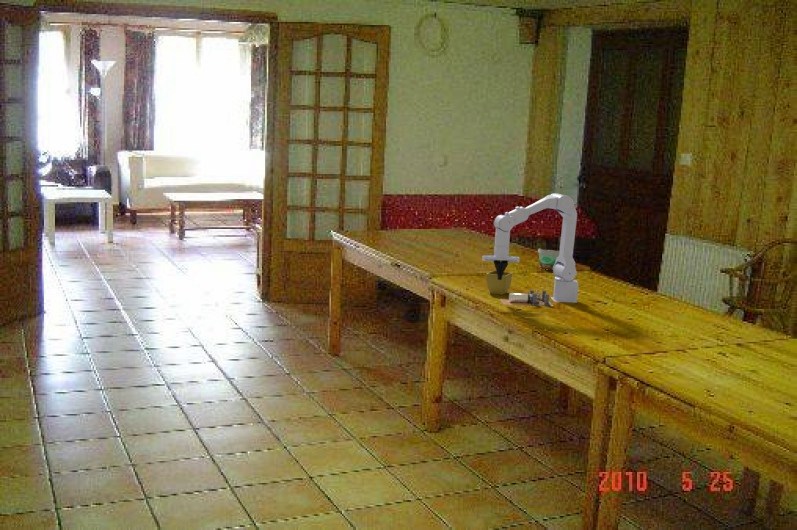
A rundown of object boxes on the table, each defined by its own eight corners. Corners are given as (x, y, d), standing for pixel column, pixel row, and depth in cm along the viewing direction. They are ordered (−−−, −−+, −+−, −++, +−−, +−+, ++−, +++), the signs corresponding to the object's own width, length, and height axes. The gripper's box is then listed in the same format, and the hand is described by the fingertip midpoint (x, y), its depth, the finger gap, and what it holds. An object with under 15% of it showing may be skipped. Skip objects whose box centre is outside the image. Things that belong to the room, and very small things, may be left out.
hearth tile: (548, 301, 335) (548, 300, 335) (553, 307, 325) (553, 306, 325) (499, 299, 335) (499, 298, 335) (503, 305, 325) (503, 304, 325)
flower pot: (484, 294, 344) (485, 273, 342) (492, 290, 351) (493, 269, 350) (504, 297, 340) (505, 275, 338) (511, 293, 347) (513, 272, 346)
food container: (534, 269, 402) (536, 249, 400) (536, 267, 408) (538, 247, 406) (560, 272, 399) (562, 251, 397) (561, 270, 405) (563, 249, 403)
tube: (537, 300, 332) (539, 292, 330) (539, 304, 328) (540, 296, 327) (508, 299, 331) (509, 291, 330) (509, 303, 328) (510, 295, 326)
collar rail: (545, 300, 335) (546, 289, 334) (550, 306, 325) (551, 295, 324) (527, 299, 335) (528, 289, 334) (531, 305, 325) (532, 294, 324)
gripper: (484, 246, 321) (482, 280, 324) (521, 248, 322) (519, 282, 324) (482, 243, 328) (480, 277, 331) (518, 245, 329) (516, 278, 331)
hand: (499, 279), depth 328 cm, fingers closed
